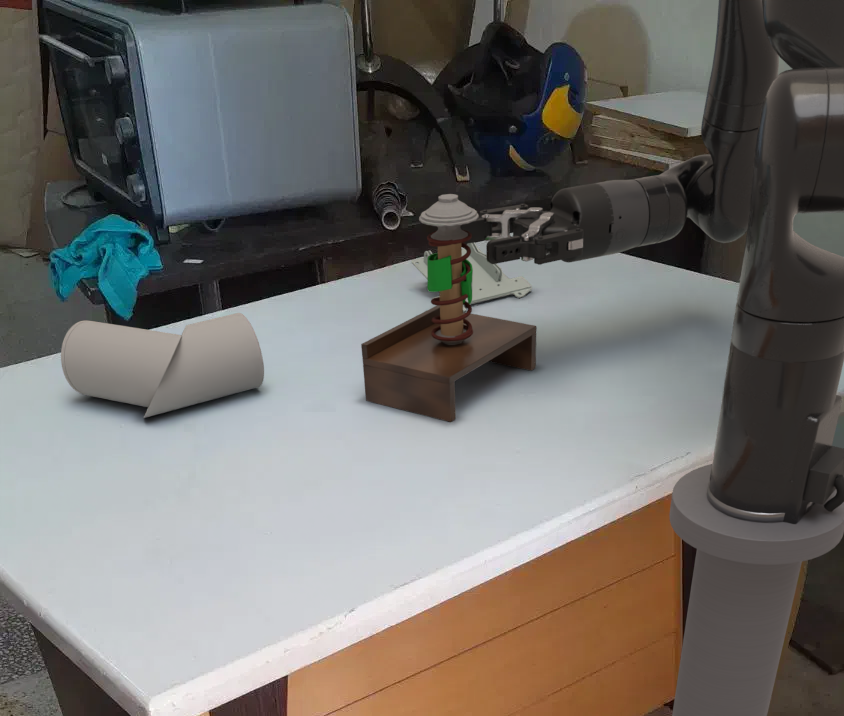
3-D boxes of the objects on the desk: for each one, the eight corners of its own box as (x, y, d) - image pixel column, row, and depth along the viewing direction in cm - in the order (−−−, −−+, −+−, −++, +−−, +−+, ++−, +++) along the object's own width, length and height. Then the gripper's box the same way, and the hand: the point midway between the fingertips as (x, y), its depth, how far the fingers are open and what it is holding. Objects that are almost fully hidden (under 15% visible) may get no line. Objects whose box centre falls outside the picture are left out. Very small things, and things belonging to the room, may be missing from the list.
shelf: (535, 368, 122) (537, 312, 118) (450, 422, 112) (448, 363, 107) (454, 350, 128) (452, 297, 124) (365, 400, 117) (360, 343, 113)
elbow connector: (108, 436, 110) (274, 390, 117) (76, 334, 105) (252, 293, 112) (71, 419, 124) (222, 379, 131) (41, 328, 119) (200, 291, 126)
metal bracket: (396, 247, 143) (486, 228, 148) (393, 286, 148) (480, 266, 153) (448, 302, 136) (539, 280, 141) (443, 341, 141) (532, 318, 146)
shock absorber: (484, 347, 114) (483, 201, 105) (429, 353, 114) (422, 206, 104) (474, 329, 119) (472, 186, 109) (421, 334, 119) (414, 192, 109)
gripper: (567, 171, 118) (441, 192, 113) (635, 196, 108) (500, 220, 103) (565, 241, 123) (444, 263, 118) (629, 271, 113) (500, 297, 108)
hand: (470, 243), depth 111 cm, fingers open, 8 cm apart
